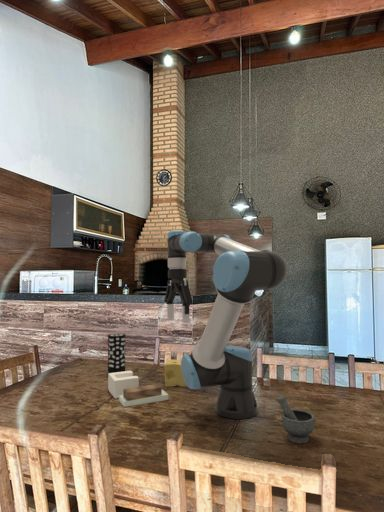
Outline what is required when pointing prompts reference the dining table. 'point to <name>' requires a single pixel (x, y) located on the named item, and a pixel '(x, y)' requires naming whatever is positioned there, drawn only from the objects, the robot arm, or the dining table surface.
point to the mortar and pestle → (296, 422)
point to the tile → (142, 392)
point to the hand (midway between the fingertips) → (178, 321)
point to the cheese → (174, 374)
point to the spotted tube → (116, 353)
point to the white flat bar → (143, 400)
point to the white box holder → (121, 382)
